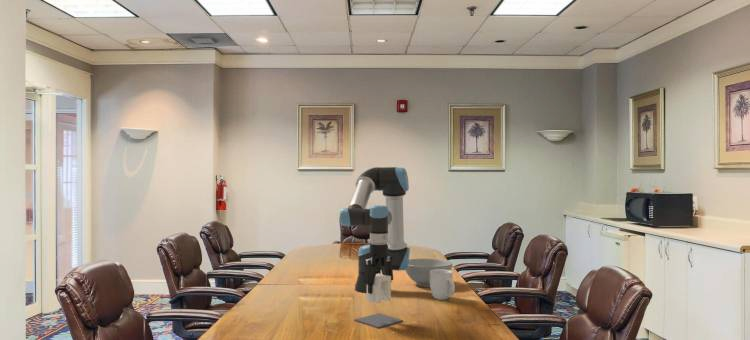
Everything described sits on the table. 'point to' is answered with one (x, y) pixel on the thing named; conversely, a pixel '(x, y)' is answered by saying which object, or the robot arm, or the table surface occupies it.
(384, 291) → the white upright block
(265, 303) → the table surface
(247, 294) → the table surface
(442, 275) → the mug
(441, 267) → the decorative bowl
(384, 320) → the mat
